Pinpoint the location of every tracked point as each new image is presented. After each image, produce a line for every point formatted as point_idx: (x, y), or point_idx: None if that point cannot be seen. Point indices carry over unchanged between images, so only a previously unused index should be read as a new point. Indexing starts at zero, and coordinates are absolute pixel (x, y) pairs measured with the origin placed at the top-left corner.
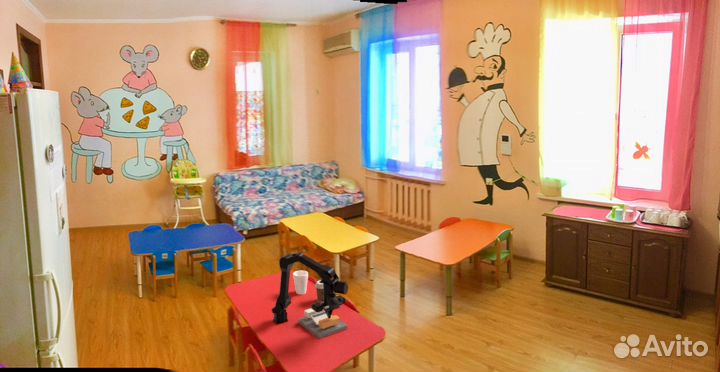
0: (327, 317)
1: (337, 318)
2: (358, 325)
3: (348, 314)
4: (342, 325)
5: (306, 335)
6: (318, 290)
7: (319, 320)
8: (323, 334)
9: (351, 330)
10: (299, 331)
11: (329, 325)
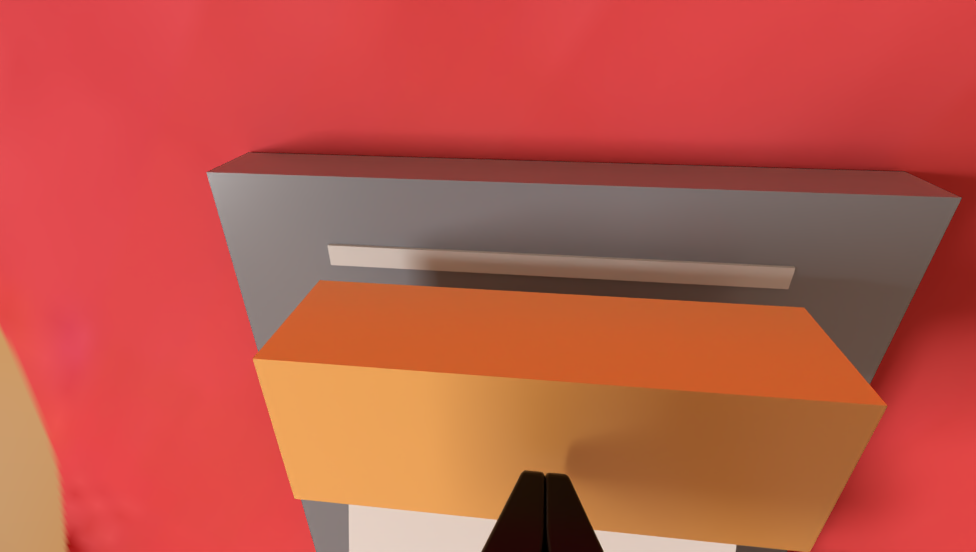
0: (452, 528)
1: (328, 367)
2: (26, 128)
3: (109, 442)
4: (296, 230)
5: (925, 391)
6: None
7: (783, 547)
8: (823, 189)
9: (196, 50)
10: (883, 511)
11: (605, 309)
